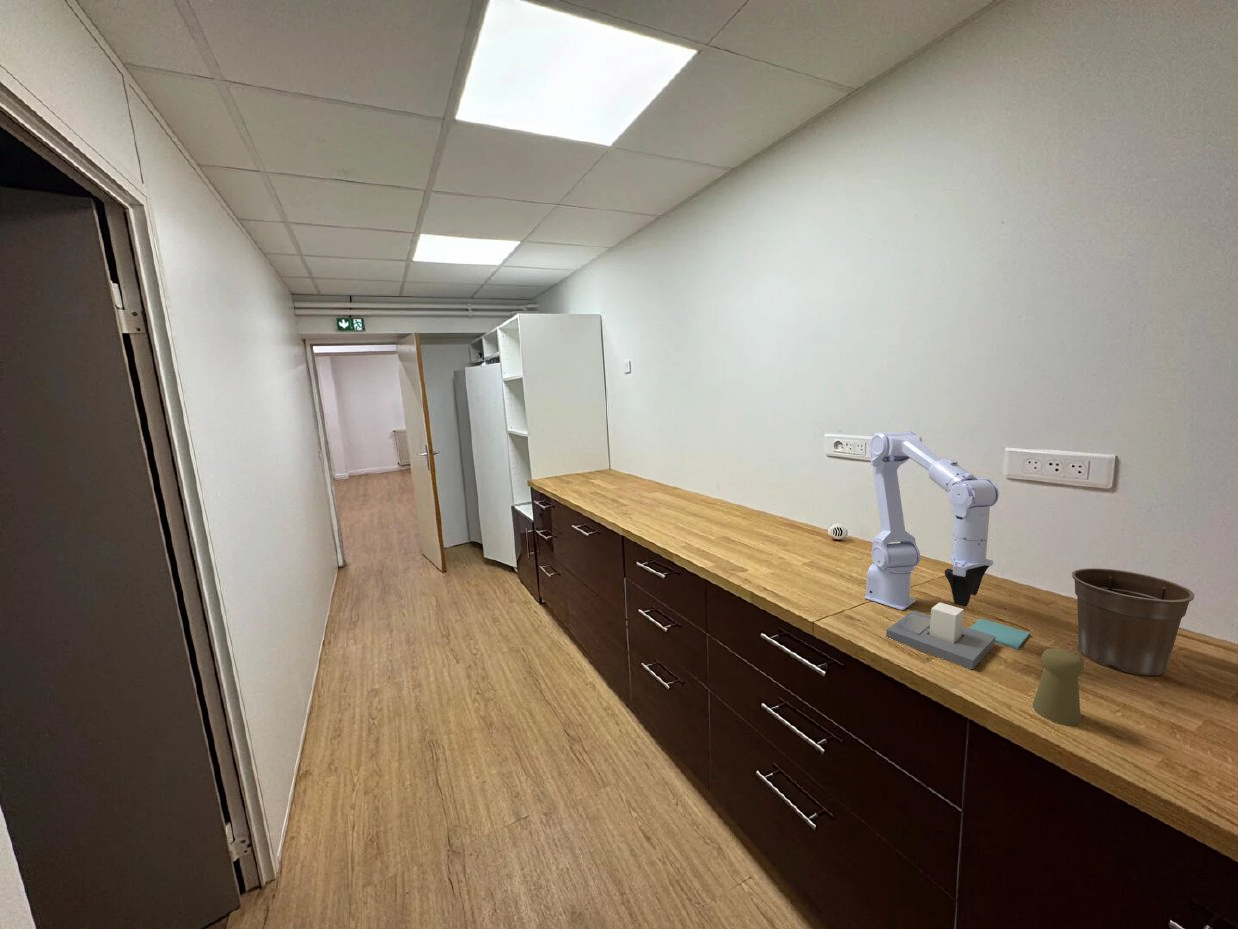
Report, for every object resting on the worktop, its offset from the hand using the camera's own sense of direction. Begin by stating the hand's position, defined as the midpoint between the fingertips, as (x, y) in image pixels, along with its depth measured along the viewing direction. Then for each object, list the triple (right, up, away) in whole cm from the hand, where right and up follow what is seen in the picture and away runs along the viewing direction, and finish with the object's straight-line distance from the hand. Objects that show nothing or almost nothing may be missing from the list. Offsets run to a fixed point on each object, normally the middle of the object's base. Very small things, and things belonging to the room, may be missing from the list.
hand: (965, 599), depth 99 cm
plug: (-3, -10, +3) cm, 11 cm away
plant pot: (+27, -11, -5) cm, 29 cm away
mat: (+11, -9, +6) cm, 16 cm away
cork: (+1, -14, -20) cm, 24 cm away
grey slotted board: (-3, -10, +3) cm, 11 cm away
